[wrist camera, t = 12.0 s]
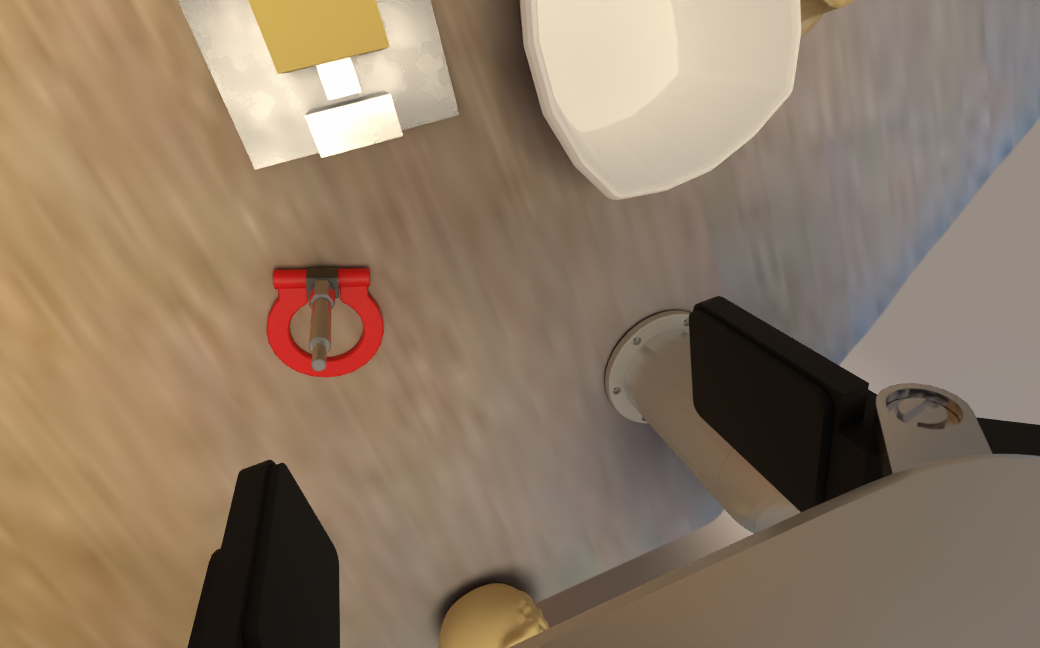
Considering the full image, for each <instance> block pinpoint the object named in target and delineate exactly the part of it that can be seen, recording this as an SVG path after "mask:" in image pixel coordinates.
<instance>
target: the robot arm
mask: <svg viewBox="0 0 1040 648" xmlns="http://www.w3.org/2000/svg"><path fill="white" fill-rule="evenodd" d="M868 386H869V383H868V382H866V381H864V380H862V379H861V378H859V377H857V376H856V375H854V374H852V373H850V372H849V371H847V370H845V369H844V368H842V367H840V366H839V365H837V364H835V363H834V362H832V361H830V360H828V359H827V358H825V357H823V356H822V355H820V354H818V353H817V352H815V351H813V350H811V349H810V348H808V347H806V346H805V345H803V344H801V343H800V342H798V341H796V340H794V339H793V338H791V337H789V336H788V335H786V334H784V333H783V332H781V331H779V330H777V329H776V328H774V327H772V326H771V325H769V324H767V323H766V322H764V321H762V320H760V319H759V318H757V317H755V316H754V315H752V314H750V313H749V312H747V311H745V310H743V309H742V308H740V307H738V306H737V305H735V304H733V303H732V302H730V301H728V300H726V299H725V298H723V297H720V296H717V297H714V298H711V299H709V300H706V301H703V302H700V303H698V304H696V305H695V306H694V309H693V312H691V313H690V312H686V311H667V312H662V313H659V314H656V315H654V316H651V317H649V318H647V319H645V320H644V321H642V322H640V323H639V324H638V325H636V326H635V327H634V328H632V329H631V330H630V331H629V332H628V333H627V334H626V335H625V336H624V337H623V338H622V339H621V341H620V342H619V344H618V345H617V346H616V348H615V349H614V351H613V353H612V355H611V357H610V359H609V362H608V366H607V369H606V375H605V388H606V393H607V396H608V399H609V401H610V402H611V404H612V405H613V407H614V408H615V409H616V410H617V411H618V412H619V414H620V415H622V416H623V417H625V418H626V419H628V420H631V421H633V422H637V423H644V424H645V423H649V425H650V426H651V427H652V428H653V429H654V430H655V431H656V433H657V434H658V435H659V436H660V437H661V438H662V439H663V440H664V442H665V443H666V444H667V445H668V446H669V447H670V448H671V449H672V451H673V452H674V453H675V454H676V455H677V456H678V457H679V458H680V460H681V461H682V462H683V463H684V464H685V465H686V466H687V467H688V469H689V470H690V471H691V472H692V473H693V474H694V475H695V476H696V478H697V479H698V480H699V481H700V482H701V483H702V484H703V486H704V487H705V488H706V489H707V490H708V491H709V492H710V493H711V495H712V496H713V497H714V498H715V499H716V500H717V501H718V502H719V504H720V505H721V506H722V507H723V508H724V509H725V510H726V511H727V512H728V513H729V515H731V517H732V518H733V519H734V520H735V521H736V522H738V523H739V524H740V525H741V526H743V527H744V528H746V529H747V530H749V531H751V532H753V533H754V534H753V535H751V536H749V537H746V538H745V539H742V540H740V541H738V542H735V543H733V544H731V545H729V546H727V547H725V548H722V549H720V550H718V551H716V552H714V553H711V554H709V555H707V556H705V557H703V558H700V559H698V560H696V561H694V562H692V563H689V564H687V565H686V566H683V567H681V568H679V569H676V570H674V571H672V572H670V573H668V574H666V575H664V576H661V577H659V578H657V579H655V580H653V581H651V582H648V583H646V584H644V585H642V586H640V587H638V588H635V589H633V590H631V591H629V592H627V593H625V594H622V595H620V596H618V597H616V598H614V599H612V600H610V601H607V602H605V603H603V604H601V605H599V606H597V607H594V608H592V609H590V610H588V611H586V612H584V613H582V614H580V615H577V616H575V617H573V618H571V619H569V620H566V621H564V622H562V623H560V624H558V625H556V626H554V627H551V628H549V629H547V630H545V631H543V632H541V633H539V634H537V635H534V636H532V637H530V638H528V639H526V640H524V641H522V642H520V643H517V644H515V645H513V646H511V647H509V648H1040V425H1035V424H1026V423H1018V422H1010V421H1001V420H993V419H984V418H976V416H975V414H974V412H973V410H972V409H971V408H970V406H969V405H968V404H967V403H966V402H965V401H964V400H962V399H961V398H959V397H958V396H957V395H955V394H952V393H950V392H948V391H946V390H944V389H940V388H937V387H933V386H930V385H923V384H916V383H909V384H908V383H907V384H897V385H893V386H889V387H887V388H885V389H883V390H881V391H880V393H879V394H878V395H877V394H875V393H873V392H872V391H870V390H868ZM188 648H340V610H339V560H338V555H337V552H336V549H335V547H334V545H333V543H332V542H331V540H330V538H329V536H328V535H327V533H326V531H325V530H324V528H323V526H322V525H321V523H320V521H319V520H318V518H317V516H316V515H315V513H314V511H313V510H312V508H311V506H310V504H309V503H308V501H307V499H306V498H305V496H304V494H303V493H302V491H301V489H300V488H299V486H298V484H297V483H296V481H295V479H294V478H293V476H292V474H291V472H290V471H289V469H288V467H287V466H286V465H285V464H284V463H280V464H277V465H276V464H275V463H274V462H273V461H272V460H267V461H264V462H262V463H259V464H256V465H253V466H251V467H248V468H245V469H243V470H241V471H240V472H239V474H238V478H237V482H236V486H235V491H234V495H233V499H232V503H231V508H230V512H229V516H228V520H227V525H226V529H225V533H224V537H223V542H222V546H221V549H218V550H216V551H215V552H214V553H213V554H212V556H211V559H210V561H209V565H208V569H207V573H206V577H205V580H204V584H203V588H202V592H201V596H200V600H199V604H198V608H197V612H196V616H195V620H194V624H193V628H192V632H191V636H190V640H189V644H188Z"/></svg>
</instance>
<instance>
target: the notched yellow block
mask: <svg viewBox="0 0 1040 648" xmlns="http://www.w3.org/2000/svg"><path fill="white" fill-rule="evenodd" d="M248 1H249V4H250V6H251V9H252V11H253V14H254V16H255V19H256V21H257V24H258V26H259V29H260V31H261V34H262V36H263V39H264V41H265V44H266V46H267V49H268V51H269V54H270V56H271V59H272V61H273V64H274V66H275V69H276V71H277V74H282V73H289V72H293V71H297V70H301V69H305V68H309V67H311V66H315V65H319V64H323V63H327V62H332V61H336V60H340V59H344V58H348V57H352V56H357V55H363V54H368V53H372V52H376V51H380V50H383V49H386V48H388V47H390V46H389V42H388V39H387V35H386V32H385V29H384V25H383V22H382V19H381V15H380V12H379V9H378V5H377V2H376V0H248Z"/></svg>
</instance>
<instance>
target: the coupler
mask: <svg viewBox="0 0 1040 648" xmlns="http://www.w3.org/2000/svg"><path fill="white" fill-rule="evenodd" d="M178 2H179V4H180V6H181V9H182V11H183V13H184V15H185V17H186V20H187V22H188V24H189V26H190V28H191V31H192V33H193V35H194V37H195V39H196V41H197V44H198V46H199V48H200V50H201V52H202V55H203V57H204V59H205V61H206V63H207V66H208V68H209V70H210V72H211V74H212V77H213V79H214V81H215V83H216V85H217V87H218V90H219V92H220V94H221V96H222V98H223V101H224V103H225V105H226V107H227V109H228V112H229V114H230V116H231V118H232V120H233V122H234V125H235V127H236V129H237V131H238V133H239V136H240V138H241V140H242V142H243V144H244V147H245V149H246V151H247V153H248V155H249V158H250V160H251V162H252V164H253V166H254V168H255V170H256V169H260V168H263V167H267V166H271V165H275V164H278V163H282V162H286V161H289V160H293V159H297V158H301V157H304V156H308V155H312V154H316V153H320V156H321V158H323V157H327V156H331V155H334V154H338V153H342V152H345V151H349V150H353V149H357V148H360V147H364V146H368V145H371V144H375V143H379V142H382V141H386V140H390V139H394V138H397V137H401V136H403V133H402V130H405V129H409V128H413V127H416V126H420V125H424V124H428V123H431V122H435V121H439V120H442V119H446V118H450V117H454V116H457V115H459V111H458V107H457V103H456V99H455V95H454V91H453V87H452V83H451V79H450V75H449V71H448V67H447V63H446V59H445V55H444V51H443V47H442V43H441V39H440V35H439V31H438V27H437V23H436V19H435V15H434V11H433V7H432V3H431V0H376V2H377V5H378V9H379V12H380V15H381V19H382V22H383V25H384V29H385V32H386V35H387V39H388V42H389V46H390V47H388V48H386V49H383V50H380V51H376V52H372V53H368V54H363V55H357V56H352V57H348V58H344V59H340V60H336V61H332V62H327V63H323V64H319V65H315V66H311V67H309V68H305V69H301V70H297V71H293V72H289V73H282V74H277V71H276V69H275V66H274V64H273V61H272V59H271V56H270V54H269V51H268V49H267V46H266V44H265V41H264V39H263V36H262V34H261V31H260V29H259V26H258V24H257V21H256V19H255V16H254V14H253V11H252V9H251V6H250V4H249V1H248V0H178Z"/></svg>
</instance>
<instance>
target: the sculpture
mask: <svg viewBox="0 0 1040 648" xmlns="http://www.w3.org/2000/svg"><path fill="white" fill-rule="evenodd" d="M547 629H549V626H548V623H547V621H546V620H545V619H544V617H543V616H542V611H541V609H540V608H537V607H536V606H535V605H534V602H533V600H532V598H531V597H530V596H529V595H528V594H527V593H526V592H524V591H519V590H518V589H516V588H514V587H512V586H509V585H506V584H502V583H492V584H487V585H484V586H481V587H478V588H476V589H474V590H472V591H470V592H469V593H467V594H465V595H464V596H463V597H461V598H460V599H459V600H458V601H456V602H455V603H454V604H453V605H452V606H451V608H450V609H449V610H448V612H447V614H446V616H445V618H444V621H443V623H442V627H441V631H440V639H439V648H509V647H511V646H513V645H515V644H517V643H520V642H522V641H524V640H526V639H528V638H530V637H532V636H534V635H537V634H539V633H541V632H543V631H545V630H547Z"/></svg>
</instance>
